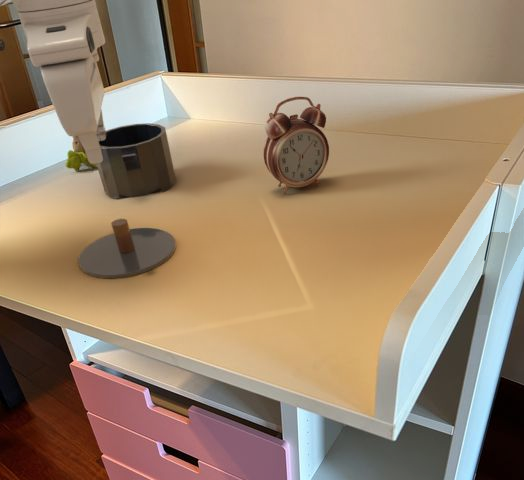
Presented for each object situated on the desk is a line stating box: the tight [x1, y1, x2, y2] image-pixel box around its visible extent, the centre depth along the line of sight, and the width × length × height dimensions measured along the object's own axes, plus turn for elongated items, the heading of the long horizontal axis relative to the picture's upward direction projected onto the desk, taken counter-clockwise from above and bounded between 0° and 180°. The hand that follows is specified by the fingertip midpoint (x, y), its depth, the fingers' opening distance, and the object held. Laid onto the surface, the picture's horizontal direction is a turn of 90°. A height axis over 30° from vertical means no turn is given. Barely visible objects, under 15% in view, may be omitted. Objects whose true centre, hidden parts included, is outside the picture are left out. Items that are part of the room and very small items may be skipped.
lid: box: [77, 218, 177, 279], centre depth 83 cm, size 15×15×6 cm
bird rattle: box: [65, 136, 97, 172], centre depth 118 cm, size 6×11×9 cm
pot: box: [96, 122, 177, 201], centre depth 105 cm, size 14×19×10 cm
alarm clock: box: [263, 96, 330, 195], centre depth 95 cm, size 11×5×15 cm, turn 112°
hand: (98, 150), depth 75 cm, fingers open, 8 cm apart
